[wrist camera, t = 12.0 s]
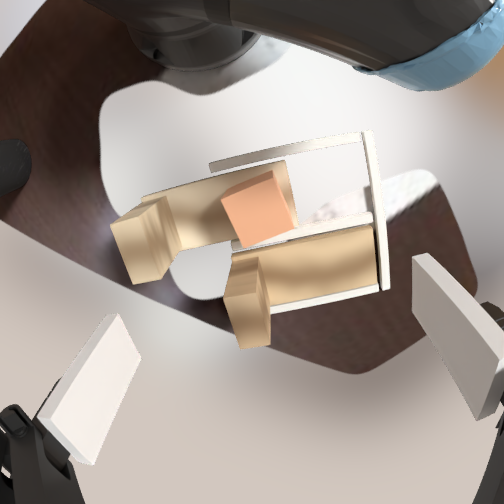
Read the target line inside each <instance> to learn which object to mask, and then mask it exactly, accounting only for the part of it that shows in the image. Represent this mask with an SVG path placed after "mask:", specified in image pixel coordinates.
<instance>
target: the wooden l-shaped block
mask: <svg viewBox="0 0 504 504" xmlns="http://www.w3.org/2000/svg"><path fill="white" fill-rule="evenodd" d="M231 259H232V265H231V269H230V273H229V277H228V281H227V285H226V289H225V293H224V297H223V300H224V303H225V306H226V309H227V312H228V315H229V318H230V321H231V324H232V327H233V330H234V333H235V335H236V338H237V341H238V344H239V347H240V349H246V348H253V347H259V346H265V345H270V306H271V305H277V304H282V303H287V302H292V301H297V300H302V299H307V298H312V297H317V296H322V295H326V294H331V293H336V292H340V291H345V290H350V289H354V288H358V287H363V286H367V285H372V284H376V283H377V271H376V259H375V247H374V237H373V228H372V227H371V226H370V225H366V226H361V227H357V228H352V229H347V230H342V231H337V232H332V233H328V234H323V235H318V236H313V237H308V238H304V239H299V240H294V241H289V242H284V243H280V244H275V245H271V246H265V247H261V248H256V249H251V250H246V251H242V252H237V253H233V254H232V256H231Z"/></svg>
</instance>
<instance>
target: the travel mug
mask: <svg viewBox="0 0 504 504" xmlns="http://www.w3.org/2000/svg"><path fill="white" fill-rule="evenodd" d="M30 172H31V156H30V152H29V150H28V148H27V146H26V145H25V143H24V142H22V141H21V140H18V139H10V140H3V141H0V197H1V196H3V195H5V194H7V193H10V192H12V191H14V190H16V189H18V188H20V187H22V186H23V185H24V184H25V183H26V182H27V180H28V178H29V176H30Z"/></svg>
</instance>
